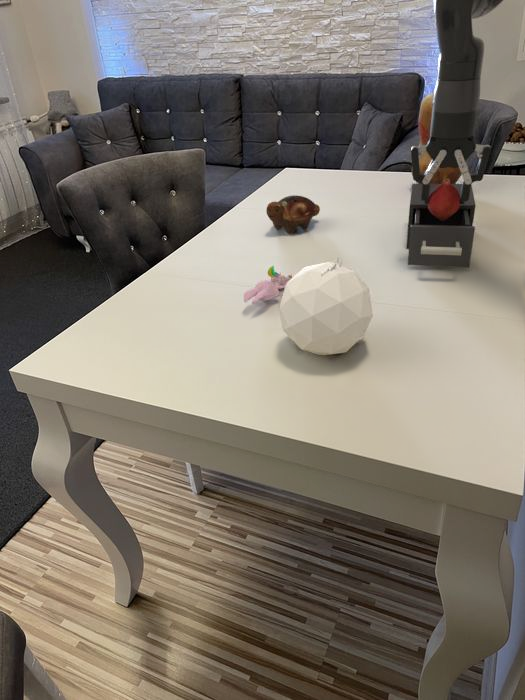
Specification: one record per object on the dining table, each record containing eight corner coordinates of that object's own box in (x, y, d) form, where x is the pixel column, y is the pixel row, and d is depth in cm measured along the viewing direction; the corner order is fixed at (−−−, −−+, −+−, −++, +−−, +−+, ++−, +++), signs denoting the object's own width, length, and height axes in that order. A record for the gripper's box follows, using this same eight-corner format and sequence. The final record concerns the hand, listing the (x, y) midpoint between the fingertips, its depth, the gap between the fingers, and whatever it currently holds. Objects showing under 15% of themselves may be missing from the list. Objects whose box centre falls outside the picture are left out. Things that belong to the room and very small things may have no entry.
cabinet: (468, 250, 111) (475, 205, 106) (406, 248, 114) (409, 204, 109) (465, 225, 122) (471, 183, 117) (408, 224, 126) (412, 183, 120)
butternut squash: (402, 186, 150) (409, 88, 137) (447, 181, 152) (458, 83, 138) (423, 201, 139) (434, 95, 125) (472, 194, 140) (487, 90, 127)
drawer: (470, 278, 98) (476, 237, 94) (406, 275, 101) (409, 236, 97) (465, 240, 113) (470, 204, 109) (409, 239, 116) (412, 203, 112)
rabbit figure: (271, 285, 106) (233, 308, 94) (271, 256, 104) (232, 276, 92) (300, 290, 104) (264, 314, 92) (301, 260, 101) (264, 281, 89)
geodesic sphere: (302, 278, 92) (282, 233, 79) (386, 287, 87) (379, 240, 74) (281, 360, 87) (256, 326, 74) (368, 374, 82) (358, 340, 70)
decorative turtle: (256, 233, 128) (254, 199, 124) (301, 220, 136) (300, 188, 132) (284, 240, 121) (283, 205, 117) (329, 226, 130) (330, 192, 126)
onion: (425, 225, 102) (429, 183, 98) (427, 215, 107) (431, 174, 102) (457, 226, 100) (463, 183, 96) (457, 216, 105) (463, 174, 101)
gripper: (411, 112, 91) (404, 208, 100) (502, 109, 88) (486, 209, 97) (412, 104, 97) (405, 196, 106) (497, 102, 94) (482, 197, 103)
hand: (444, 202), depth 102 cm, fingers closed on onion, 6 cm apart
